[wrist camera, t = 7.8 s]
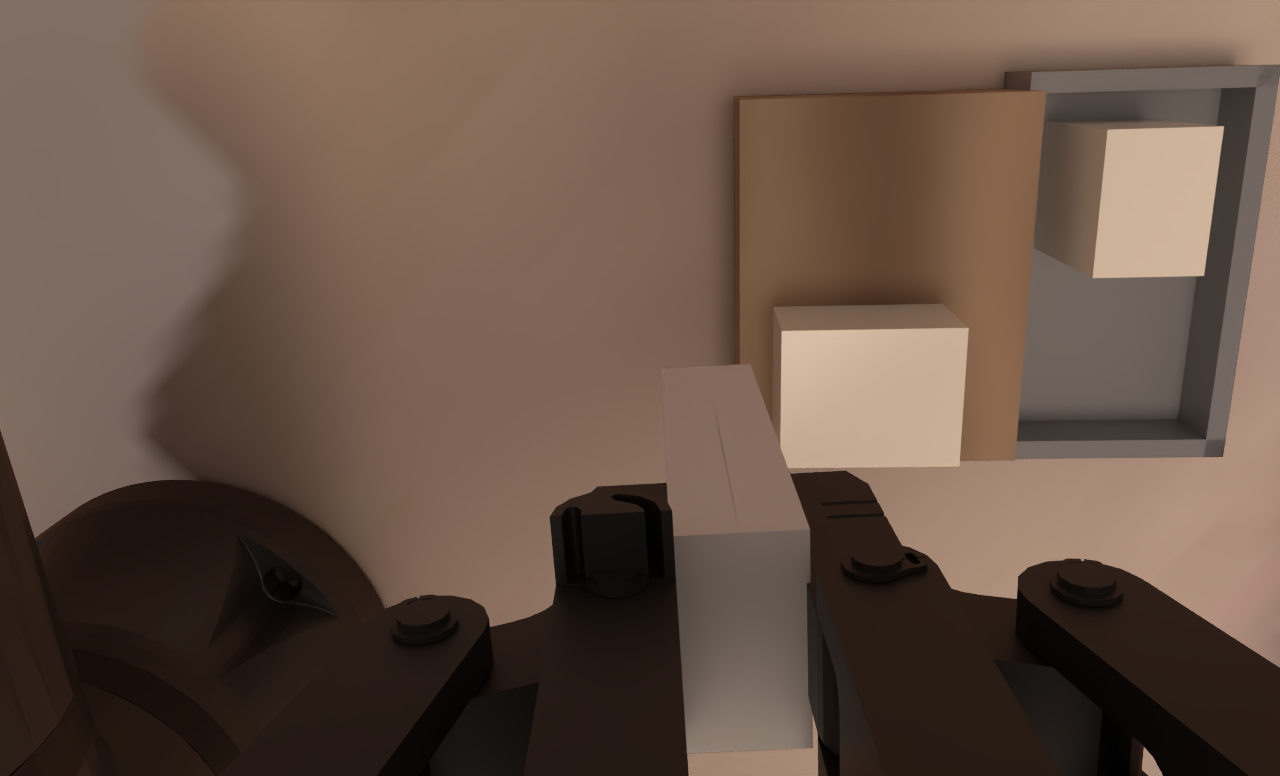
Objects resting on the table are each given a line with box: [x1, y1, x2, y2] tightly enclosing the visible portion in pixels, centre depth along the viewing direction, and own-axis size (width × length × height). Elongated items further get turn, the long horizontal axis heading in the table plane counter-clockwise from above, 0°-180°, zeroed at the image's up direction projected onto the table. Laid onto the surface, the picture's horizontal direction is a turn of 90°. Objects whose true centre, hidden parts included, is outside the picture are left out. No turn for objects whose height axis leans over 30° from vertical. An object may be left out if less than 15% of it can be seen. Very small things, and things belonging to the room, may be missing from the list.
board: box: [734, 89, 1046, 461], centre depth 32 cm, size 8×11×4 cm
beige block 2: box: [1035, 118, 1224, 278], centre depth 30 cm, size 5×4×3 cm
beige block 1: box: [772, 304, 969, 468], centre depth 30 cm, size 5×4×3 cm
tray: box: [1004, 65, 1280, 459], centre depth 32 cm, size 7×12×3 cm, turn 2°
